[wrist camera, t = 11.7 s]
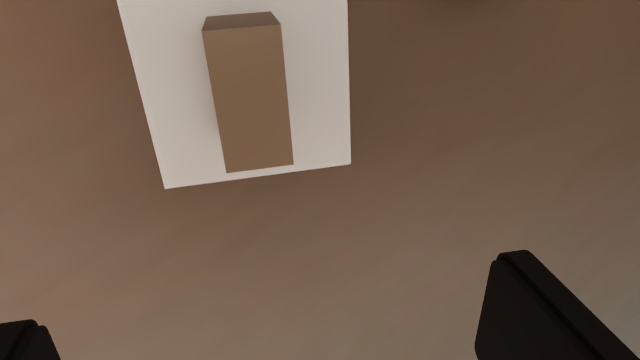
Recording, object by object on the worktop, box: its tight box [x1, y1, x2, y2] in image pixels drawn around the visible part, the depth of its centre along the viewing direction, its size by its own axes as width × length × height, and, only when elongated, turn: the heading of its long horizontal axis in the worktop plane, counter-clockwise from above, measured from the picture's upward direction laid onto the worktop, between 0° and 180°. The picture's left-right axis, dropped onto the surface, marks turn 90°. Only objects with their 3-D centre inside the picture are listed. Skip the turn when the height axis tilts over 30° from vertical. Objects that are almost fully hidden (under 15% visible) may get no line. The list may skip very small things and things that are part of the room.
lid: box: [117, 0, 351, 189], centre depth 27 cm, size 14×15×7 cm
